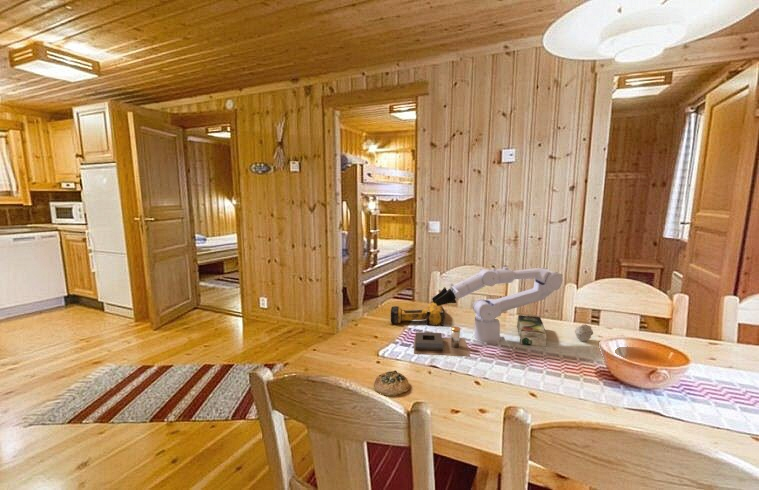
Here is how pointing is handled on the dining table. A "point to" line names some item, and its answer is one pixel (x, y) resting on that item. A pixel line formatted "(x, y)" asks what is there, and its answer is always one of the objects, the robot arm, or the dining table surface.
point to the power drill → (419, 314)
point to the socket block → (428, 341)
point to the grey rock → (583, 332)
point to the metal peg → (455, 337)
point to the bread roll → (391, 383)
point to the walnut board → (448, 349)
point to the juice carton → (531, 330)
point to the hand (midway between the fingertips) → (434, 302)
